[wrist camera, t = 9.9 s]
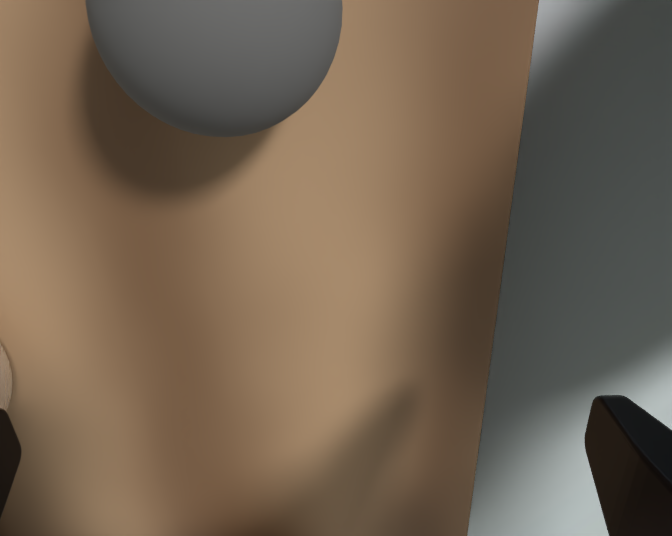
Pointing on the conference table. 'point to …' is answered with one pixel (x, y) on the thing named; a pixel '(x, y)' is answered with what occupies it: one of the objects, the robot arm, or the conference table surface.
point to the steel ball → (5, 380)
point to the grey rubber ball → (217, 58)
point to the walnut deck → (257, 283)
